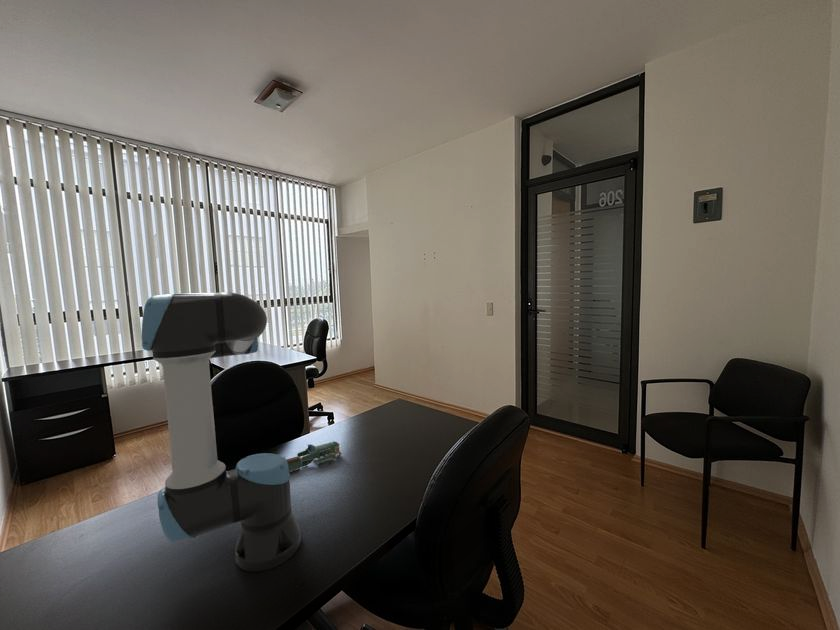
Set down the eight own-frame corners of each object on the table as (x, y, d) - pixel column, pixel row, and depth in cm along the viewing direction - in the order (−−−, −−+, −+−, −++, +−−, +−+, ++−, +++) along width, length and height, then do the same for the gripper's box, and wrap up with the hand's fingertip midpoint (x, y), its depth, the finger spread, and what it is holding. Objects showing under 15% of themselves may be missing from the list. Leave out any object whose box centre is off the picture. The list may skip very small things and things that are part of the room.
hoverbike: (345, 461, 131) (344, 439, 131) (276, 485, 117) (274, 461, 116) (335, 451, 139) (334, 431, 138) (268, 473, 124) (267, 451, 123)
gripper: (199, 376, 114) (205, 445, 117) (216, 366, 127) (221, 428, 129) (174, 377, 113) (181, 447, 116) (193, 367, 126) (199, 430, 128)
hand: (202, 437), depth 122 cm, fingers closed
